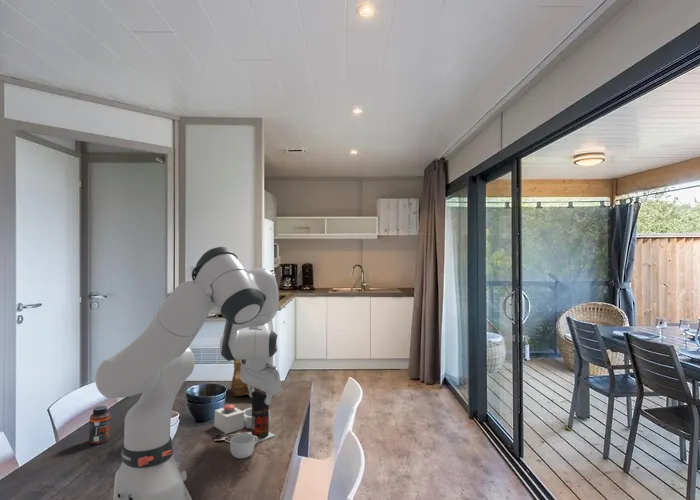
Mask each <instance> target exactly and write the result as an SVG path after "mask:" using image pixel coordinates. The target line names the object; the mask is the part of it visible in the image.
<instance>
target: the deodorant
mask: <svg viewBox="0 0 700 500" xmlns="http://www.w3.org/2000/svg"><path fill="white" fill-rule="evenodd" d="M266 397H267V395H266V392H264V391H262V390H257V391H254V392H252V398H251V408H252V428H251V432H252V435H254V436H257V437H258V439H262V438H265V437H267V436H268V435H269V432H270V431H269V430H270V428H269V427H270V421H269V410H270V404H269V405H266V404H264V399H266ZM255 439H256V437H255Z"/></svg>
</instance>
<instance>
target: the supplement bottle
mask: <svg viewBox="0 0 700 500" xmlns="http://www.w3.org/2000/svg"><path fill="white" fill-rule="evenodd" d="M110 417H111V415H110V412H108V407H107V405H98V406H95V407H93V411H92V414H91V415H90V416H89V431H88V442H89V444H92V445H100V444H103V443H105V442H107V441H108V440H109V439H110V431H111V430H110V425H111V424H110V423H111V422H110V421H111V420H110V419H111V418H110Z"/></svg>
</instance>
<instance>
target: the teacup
mask: <svg viewBox="0 0 700 500" xmlns="http://www.w3.org/2000/svg"><path fill="white" fill-rule="evenodd" d="M248 433H249V432H248ZM248 433H246V432H245V433H243V432H242V433H239V434H235V435H233V436H231V438H230V440H229V445H230V446H229V447H230V453H231V454H232V456H233V458H236V459H246V458H248V457H250V456H251V455H252V454H253V453H254V448H255V445H256V444H258V443H257V441H258V437H257V436H254V435H252V434H248ZM255 437H256V441H255Z"/></svg>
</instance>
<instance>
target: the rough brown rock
mask: <svg viewBox="0 0 700 500" xmlns="http://www.w3.org/2000/svg"><path fill="white" fill-rule="evenodd" d="M241 365H242V364H241V362H240V360H233V368H234V369H233V375H232V380H231V384H230V388H231V389H230V390H231V391H232V396H233V397H241V396H246V395H247V396H249V390H248V384H246V383H243V382H242V380H241ZM254 390H255V391H257V390H259V389H257V388H255V387H254Z"/></svg>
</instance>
